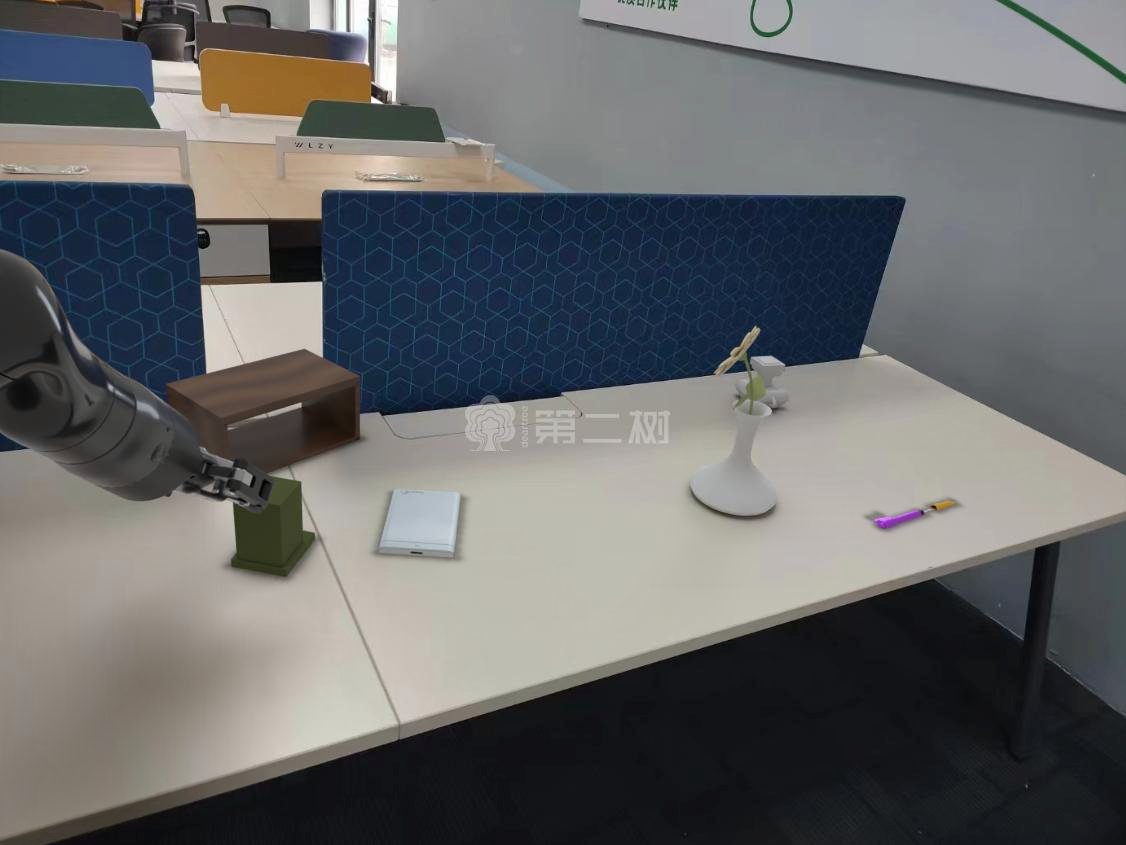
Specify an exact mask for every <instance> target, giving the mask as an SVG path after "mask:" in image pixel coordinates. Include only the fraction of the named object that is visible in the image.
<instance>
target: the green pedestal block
mask: <svg viewBox="0 0 1126 845" xmlns="http://www.w3.org/2000/svg"><path fill="white" fill-rule="evenodd" d="M270 476H271V477H272V478H273V479H275V483H274V485H273V489H272V492H271V495H270V499H269V502H268V505H267V508H265V510H263V509H262V511H261V513H260V514H258V513H252V512H250V511H248V510H247V509H245V508H244V507H242V506H239V505H238V504H237V503H234V502H232V508H233V509H232V511H233V524H234V538H235V551H236V552H235V554H234V555H233V557H232V558H230V566H231V568H237V569H241V570H242V569H243V570H246V571H247V570H248V571H253V572H257V573H264V574H269V575H272V576H273V575H274V576H279V577H285V578H287V577H288V576H289V574H290V573H291V572H292V570H293V569H294V568H295V566H296V565H297V564H298V562H299V561H300V560H301V559H302V557H303V556H304V555H305V553H306V552H307V550H308V549H309V548H310V547H311V545H312V544H313V543H314V542H315V541H316V532H313V531H309V530H308V531H307V530H304V522H303V492H302V491H303V490H302V489H303V486H302V480H295V479H290V478H284V477H278V476H275V475H270Z"/></svg>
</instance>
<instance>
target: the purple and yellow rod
mask: <svg viewBox="0 0 1126 845" xmlns="http://www.w3.org/2000/svg"><path fill="white" fill-rule="evenodd" d="M955 504H956V501H952V500H944V501H942V502H936V503H934V504H933V503H932V504H931V505H930V509H926V510H923V509H918V510H917V509H916V510H913V511H909V512H907V513H904V514H900V515H898V516H895V517H891V516H886V517H880V518H875V519H873V521H874V522H875V523H877V527H878V528H880V529H882V530H883V529H889V528H892V527H894V526H895V527H896V526H897V525H899V524H902V523H905V522H908V521H910V520H911V521H912V520H914V519H916V518H919V517H922V516H924V515H925V514H926V513H927V512H931V511H934V510H936V511H937V512H939V511H941V510H944V509H945V508H949V507H952V506H953V505H955ZM932 507H933V508H932Z"/></svg>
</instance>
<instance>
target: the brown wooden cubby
mask: <svg viewBox="0 0 1126 845" xmlns="http://www.w3.org/2000/svg"><path fill="white" fill-rule="evenodd" d="M165 392H166V402H167V404H169V405H170V406H171V407H173V408H174V409H175V410H177V411H178V412H179V413H181V414H182V415H183V416H184V417H186V418H187V419H188V421H189V422H190V423H191V424H192V426H193V428H194V430H195V432H196V435H197V439H198V443H199V446H200V447H203V448H205V449H206V451H207V452H208V453H210V454H213V455H215V456H218V457H221V458H223V459H226V460H229V461H231V462H234V459H235V458H238V459H240V458H243V459H246V461H249V462H250V463H252V464H253V465H255V466H256V467H257V468H259V469H260V470H262V471H263V472H265V473H266V474H270V473H273V472H274V471H275V472H276V471H278V470H281V469H283V468H286V467H288V466H291V465H294V464H297V463H300V462H302V461H306V460H308V459H310V458H312V457H316V456H318V455H321V454H323V453H327V452H329V451H332V450H335V449H338V448H340V447H343V446H346V445H349V444H351V443H353V442H357V441H359V440H360V439H361V376H360V375H359V374H357V373H355V372H352V371H351V370H348V369H346V368H344V367H342V366H341V365H338V364H336V363H334V362H333V361H331V360H328V359H326V358H324V357H323V356H320V355H318V354H316V353H314V352H312V351H311V350H308V349H306V348H301V349H297V350H293V351H290V352H286V353H281V354H277V355H273V356H270V357H265V358H262V359H258V360H254V361H251V362H246V363H242V364H237V365H235V366H229V367H227V368H222V369H220V370H215V371H211V372H208V373H203V374H200V375H196V376H195V375H194V376H191V377H188V378H183V379H179V380H176V381H172V382H168V383H165ZM299 404H301V406H300V407H298V408H294V409H291V410H288V411H285V412H281V413H279V414H275V415H272V416H269V417H265V418H263V419H259V420H256V421H253V422H250V423H246V424H244V425H240V426H237V427H233V428H230V429H229V428H228V426H230V425H234V424H237V423H240V422H242V421H243V422H244V421H246V420H250V419H253V418H255V417H258V416H262V415H265V414H269V413H272V412H276V411H279V410H282V409H284V408H287V407H292V406H294V405H299ZM215 481H216V479H214V481H213V482H215Z"/></svg>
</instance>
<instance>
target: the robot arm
mask: <svg viewBox="0 0 1126 845" xmlns="http://www.w3.org/2000/svg"><path fill="white" fill-rule="evenodd" d="M0 434H2V435H3V436H5V437H6V438H7V439H9V440H11V441H13V442H15V443H17V444H19V445H20V446H23V447H25V448H27V449H30V450H32V451H34V452H36V453H38V454H40V455H42V456H43V457H46V458H48V459H50V460H51V461H52V462H54V463H55V464H56V465H57V466H59V467H60V468H62V469H63V470H65V471H66V472H68V473H70V474H72V475H74V476H75V477H77V478H80V479H82V480H84V481H86V482H87V483H90V484H92V485H93V486H95V487H98V488H101V489H102V490H105V491H107V492H108V493H111V494H113V495H115V496H117V497H119V498H121V499H125V500H126V501H131V502H150V501H154V500H157V499H161V498H163V497H167V498H170V497H171V496H172V494H173V493H175V494H177V495H191V496H193V497H197V498H200V499H203V500H206V501H209V502H212V503H222V502H225V501H229V502H231V503H233V502H234V503H237V504H238V505H239V506H242V507H244V508H245V509H247V510H248V511H250V512H252V513H258V514H260V513H261V511H262V509H263V510H265V508H267V505H268V502H269V499H270V495H271V492H272V489H273V485H274V483H275V479H273V478H272V477H271V476H272V475H269V473H267V474H266V473H265V472H263V471H262V470H260V469H259V468H257V467H256V466H255V465H253V464H252V463H250V462H249V461H246V459H243V458H240V459H238V458H235V459H234V462H231V461H229V460H226V459H223V458H221V457H218V456H215V455H213V454H210V453H208V452H207V451H206V449H205V448H203V447H200V446H199V443H198V439H197V435H196V432H195V430H194V428H193V426H192V424H191V423H190V422H189V421H188V419H187V418H186V417H184V416H183V415H182V414H181V413H179V412H178V411H177V410H175V409H174V408H173V407H171V406H170V405H169V404H168V402H167V401H165V400H164V399H162V398H161V397H160V396H158V395H157V394H155V393H154V392H153V391H152V390H150V389H149V388H147V387H146V386H145V385H144V384H142V383H140V382H139V381H137V380H135V379H134V378H132V377H130V376H128V375H125V374H123V373H122V372H120V371H118V370H117V369H116V368H114V367H113V365H110V364H109V363H107V361H105V360H104V359H102V358H101V357H100V356H98V355H97V354H96V353H94V352H93V351H92V350H91V349H90V348H89V346H88V345H87V344H86V343H85V342H84V341H83V339H81V337H80V336H79V333H77V332H76V330H75V328H74V327H73V325H72V323H71V321H70V319H69V317H68V314H67V312H66V310H65V309H64V307H63V305H62V303H61V301H60V299H59V297H58V296H57V294H56V292H55V291H54V289H53V287H52V286H51V284H50V283H49V281H48V280H47V279H46V277H45V276H44V275H43V273H42V272H41V271H40V270H39V269H38V268H36V266H34V265H33V264H32V263H31V262H30V261H28V260H27V259H26V258H24V257H22V256H21V255H19V254H16V253H13V252H11V251H10V250H5V249H1V248H0ZM214 479H216V481H214ZM213 482H214V484H213V487H212V489H211V491H209V490H207V489H203V488H206V487H207V486H209V485H211V484H212V483H213Z"/></svg>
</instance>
